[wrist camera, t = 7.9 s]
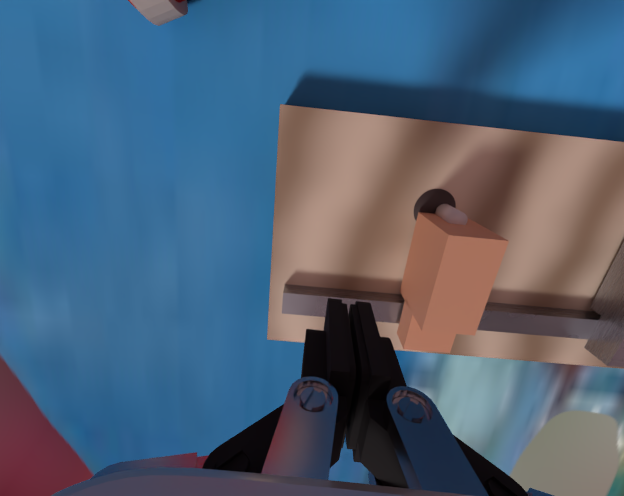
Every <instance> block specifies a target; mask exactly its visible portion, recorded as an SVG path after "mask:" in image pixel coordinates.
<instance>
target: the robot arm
mask: <svg viewBox="0 0 624 496" xmlns="http://www.w3.org/2000/svg"><path fill="white" fill-rule="evenodd" d="M345 433H346V444H347V449H353V459H354V462H361V463H362V464H363V465H364V466H365V467H366V468H367V469H368V470H369V473H368V478H369V484H370V485H369V484H360V483H350V482H341V481H331V480H328V478H329V470H330V468H331V467H332V466H333V465H334V464H335V463H336V462H337V461H338V460H339V457H340V452H341V448H343V443H344V438H345ZM52 496H553V495H550V494H547V493H544V492H541V491H538V490H535V489H532V488H529V490H528V492H526V491H525V490H524V489H523V488H522V487H521V486H520V485H519V484H518V483H517V482H515V481H514V480H513V479H512V478H511V477H510V476H508V475H507V474H506V473H504V472H503V471H501V470H500V469H499V468H497V467H496V466H495V465H493V464H492V463H491V462H489V461H488V460H487V459H485V458H484V457H482V456H481V455H480V454H478V453H477V452H476V451H474V450H473V449H472V448H470V447H469V446H468V445H466V444H465V443H464V442H462V441H461V440H459V439H458V438H457V437H455V436H454V435H453V434H452V433H451V431H450V429H449V428H448V426H447V424H446V422H445V421H444V419H443V417H442V416H441V414H440V412H439V411H438V409H437V407H436V405H435V404H434V403H433V402H432V400H431V399H430V398H429V397H428V396H426V395H425V394H424V393H422V392H421V391H419V390H417V389H414V388H411V387H407V386H406V383H405V380H404V377H403V374H402V371H401V368H400V365H399V362H398V359H397V356H396V354H395V351H394V348H393V345H392V342H391V339H390V338H388V337H380V334H379V331H378V327H377V324H376V320H375V317H374V314H373V310H372V307H371V303H370V302H360V301H356V302H355V304H350V308H349V314H348V309H347V304H345V303H342V300H341V299H332V298H328V300H327V307H326V315H325V322H324V330H323V331H322V330H313V329H306V335H305V344H304V354H303V363H302V374H301V379H298V380H296V381H295V382H294V383H293V384H292V385H291V387H290V389H289V391H288V394H287V397H286V400H285V403H284V404H283V405H282V406H280V407H279V408H277V409H276V410H274V411H272V412H271V413H269V414H268V415H266V416H265V417H263V418H262V419H260V420H259V421H257V422H256V423H254V424H252V425H251V426H249V427H248V428H246V429H245V430H243V431H242V432H240V433H239V434H237V435H236V436H234V437H232V438H231V439H229V440H228V441H226V442H225V443H223V444H222V445H220V446H219V447H217V448H216V449H215V450H214V451H213V452H211V453H210V455H209V456H201V457H197V453H189V454H181V455H173V456H165V457H157V458H149V459H141V460H134V461H126V462H119V463H116V464H112V465H109V466H107V467H106V468H104V469H102V470H100V471H99V472H97V473H96V474H95V475H94V476H93V477H92V478H91V479H90V480H86V481H83V482H81V483H78V484H75V485H73V486H70V487H68V488H66V489H64V490H61V491H59V492H57V493H55V494H53V495H52Z"/></svg>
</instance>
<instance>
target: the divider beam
mask: <svg viewBox="0 0 624 496" xmlns="http://www.w3.org/2000/svg"><path fill="white" fill-rule="evenodd" d="M328 298H332V299H341V300H342V303H345V304H347V309H348V314H349V308H350V304H355V302H356V301H360V302H370V303H371V307H372V310H373V314H374V317H375V320H376V322H388V323H399V322H400V318H401V314H402V310H403V306H404V302H405V300H404V298H403V296H402V294H392V293H380V292H369V291H358V290H346V289H335V288H324V287H312V286H301V285H290V284H285V285H284V291H283V302H282V314H294V315H305V316H317V317H325V315H326V307H327V300H328ZM590 309H592V310H594V311H584V310H573V309H561V308H550V307H539V306H527V305H516V304H505V303H493V302H487V303H486V306H485V309H484V312H483V314H482V317H481V320H480V323H479V326H478V328H477V330H482V331H494V332H506V333H518V334H529V335H541V336H553V337H565V338H576V339H588V341H587V343H586V345H585V347H584V348H585V349H586V350H588V351H589V352H590V353H592V354H593V355H594V356H595V357H597V358H598V359H599V360H600V361H602V362H603V363H604V364H605V365H607V366H611V367H624V242H623V244H622V246H621V248H620V250H619V252H618V254H617V256H616V258H615V259H614V261H613V263H612V265H611V267H610V269H609V271H608V273H607V275H606V277H605V279H604V281H603V283H602V285H601V287H600V289H599V291H598V293H597V295H596V297H595V299H594V301H593V303H592V304H591V306H590Z"/></svg>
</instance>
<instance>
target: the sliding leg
mask: <svg viewBox="0 0 624 496" xmlns="http://www.w3.org/2000/svg"><path fill="white" fill-rule="evenodd" d="M508 243H509V241H508V240H507V239H505V238H503V237H501V236H499V235H498V234H496V233H494V232H492V231H490V230H489V229H487V228H485V227H483V226H481V225H480V224H478V223H476V222H474V221H472V220H471V219H469V218H467V215H466V214H465V213H463V212H461V211H459V210H458V209H456V208H454V207H452V206H450V205H448V204H441V205H440V206H438V207H437V209H436V212H435V214H432V213H422V212H418V216H417V220H416V224H415V229H414V233H413V237H412V241H411V246H410V250H409V254H408V258H407V263H406V267H405V271H404V275H403V280H402V284H401V288H400V292H401V294H402V296H403V298H404V300H405V302H404V306H403V310H402V314H401V318H400V322H399V326H398V330H397V335H398V337H399V340H400V342H401V345H402V347H403V349H406V350H419V351H431V352H443V353H450V351H451V348H452V345H453V342H454V339H455V336H456V334H463V335H474V336H475V334H476V331H477V328H478V326H479V323H480V320H481V317H482V314H483V312H484V309H485V306H486V303H487V301H488V298H489V295H490V292H491V290H492V287H493V284H494V281H495V279H496V276H497V273H498V270H499V268H500V265H501V262H502V259H503V256H504V254H505V251H506V248H507V245H508Z"/></svg>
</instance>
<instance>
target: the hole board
mask: <svg viewBox="0 0 624 496" xmlns="http://www.w3.org/2000/svg"><path fill="white" fill-rule="evenodd" d="M441 204H448V205H450V206H452V207H454V208H456V209H458V210H459V211H461V212H463V213H465V214H466V215H467V218H469V219H471V220H472V221H474V222H476V223H478V224H480V225H481V226H483V227H485V228H487V229H489V230H490V231H492V232H494V233H496V234H498V235H499V236H501V237H503V238H505V239H507V240H508V241H509V243H508V245H507V248H506V251H505V254H504V256H503V259H502V262H501V265H500V268H499V270H498V273H497V276H496V279H495V281H494V284H493V287H492V290H491V292H490V295H489V298H488V301H487V302H493V303H505V304H516V305H527V306H539V307H550V308H561V309H573V310H584V311H594V310H592V309H590V306H591V304H592V303H593V301H594V299H595V297H596V295H597V293H598V291H599V289H600V287H601V285H602V283H603V281H604V279H605V277H606V275H607V273H608V271H609V269H610V267H611V265H612V263H613V261H614V259H615V258H616V256H617V254H618V252H619V250H620V248H621V246H622V244H623V242H624V142H618V141H609V140H600V139H591V138H582V137H573V136H564V135H555V134H546V133H537V132H527V131H518V130H509V129H500V128H491V127H482V126H473V125H464V124H455V123H446V122H437V121H427V120H418V119H409V118H400V117H391V116H382V115H373V114H364V113H355V112H346V111H336V110H327V109H318V108H309V107H300V106H291V105H282V104H280V116H279V134H278V152H277V170H276V188H275V206H274V225H273V243H272V261H271V279H270V297H269V316H268V334H267V339H268V340H280V341H292V342H305V335H306V329H313V330H322V331H323V330H324V322H325V317H317V316H305V315H294V314H282V302H283V291H284V285H285V284H290V285H301V286H312V287H324V288H335V289H346V290H358V291H369V292H380V293H392V294H401V292H400V288H401V284H402V280H403V275H404V271H405V267H406V263H407V258H408V254H409V250H410V246H411V241H412V237H413V233H414V229H415V224H416V220H417V216H418V212H422V213H432V214H435V212H436V209H437V207H438V206H440V205H441ZM376 324H377V327H378V331H379V334H380V337H388V338H390V339H391V342H392V345H393V348H394V350H403V351H415V352H427V353H440V354H452V355H464V356H476V357H489V358H501V359H513V360H525V361H538V362H550V363H562V364H574V365H587V366H599V367H611V366H607V365H605V364H604V363H603V362H602V361H600V360H599V359H598V358H597V357H595V356H594V355H593V354H592V353H590V352H589V351H588V350H586V349H585V348H584V347H585V345H586V343H587V341H588V339H576V338H565V337H553V336H541V335H529V334H518V333H506V332H494V331H482V330H477V331H476V334H475V336H474V335H463V334H456V336H455V339H454V342H453V345H452V348H451V351H450V353H443V352H431V351H419V350H406V349H403V347H402V345H401V342H400V340H399V337H398V335H397V330H398V326H399V323H388V322H376ZM611 368H624V367H611Z"/></svg>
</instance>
